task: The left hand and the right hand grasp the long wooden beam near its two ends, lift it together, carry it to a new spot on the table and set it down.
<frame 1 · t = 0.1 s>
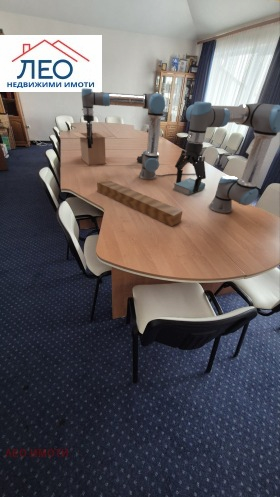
left hand: (90, 146, 173), 28 cm above the table, tool pointing down, fingers open, 13 cm apart
right hand: (186, 187, 114), 28 cm above the table, tool pointing down, fingers open, 13 cm apart
laser sight: (146, 163, 243), on the table
long wooden beam: (135, 204, 157), on the table
box: (93, 161, 237), on the table
book: (188, 189, 187), on the table
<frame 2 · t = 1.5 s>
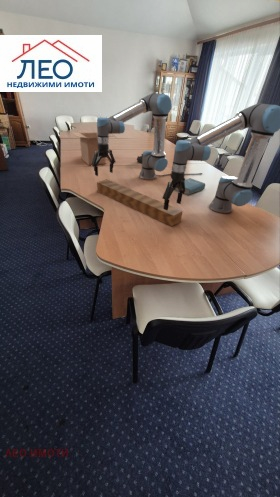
left hand: (104, 173, 166), 13 cm above the table, tool pointing down, fingers open, 13 cm apart
right hand: (172, 206, 135), 10 cm above the table, tool pointing down, fingers open, 13 cm apart
nothing on the table moved.
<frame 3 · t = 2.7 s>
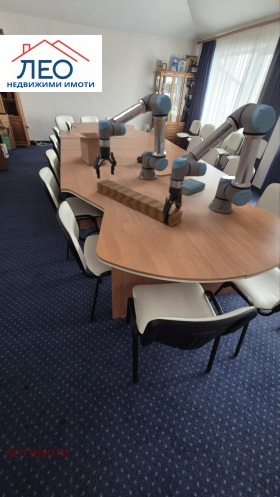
left hand: (105, 176, 166), 12 cm above the table, tool pointing down, fingers open, 13 cm apart
right hand: (170, 220, 141), 1 cm above the table, tool pointing down, fingers closed on long wooden beam, 10 cm apart
long wooden beam: (135, 204, 157), on the table, touching right hand
everything else where it was.
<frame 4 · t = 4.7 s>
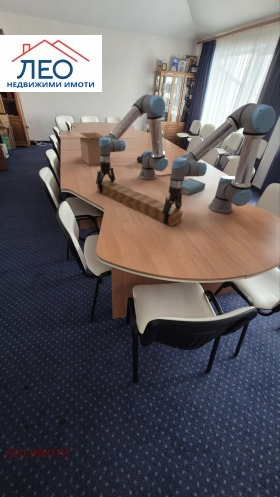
left hand: (106, 190, 173), 1 cm above the table, tool pointing down, fingers closed on long wooden beam, 10 cm apart
right hand: (170, 220, 141), 1 cm above the table, tool pointing down, fingers closed on long wooden beam, 10 cm apart
long wooden beam: (135, 204, 157), on the table, touching left hand, right hand
everything else where it was.
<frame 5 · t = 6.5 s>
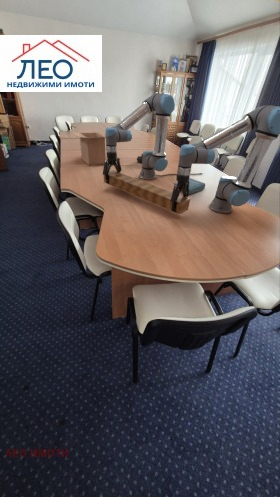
left hand: (112, 181, 174), 6 cm above the table, tool pointing down, fingers closed on long wooden beam, 10 cm apart
right hand: (178, 208, 141), 6 cm above the table, tool pointing down, fingers closed on long wooden beam, 10 cm apart
long wooden beam: (141, 194, 158), point 6 cm above the table, touching left hand, right hand
everything else where it was.
when the left hand's fingers open (1 cm above the table, at t = 8.4 s): long wooden beam stays where it is, on the table.
when the right hand's fingers open (1 cm above the table, at t = 8.4 s): long wooden beam stays where it is, on the table.
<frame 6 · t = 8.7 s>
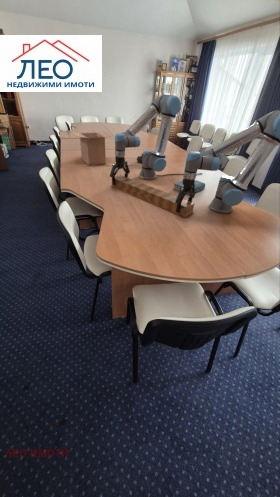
left hand: (120, 183, 182), 3 cm above the table, tool pointing down, fingers open, 13 cm apart
right hand: (183, 209, 150), 3 cm above the table, tool pointing down, fingers open, 13 cm apart
long wooden beam: (148, 198, 167), on the table
everything else where it was.
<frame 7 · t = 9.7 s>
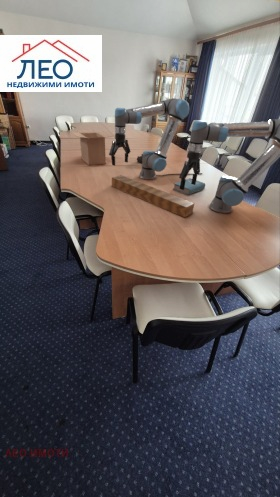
left hand: (120, 163, 172), 19 cm above the table, tool pointing down, fingers open, 13 cm apart
right hand: (187, 186, 140), 19 cm above the table, tool pointing down, fingers open, 13 cm apart
nothing on the table moved.
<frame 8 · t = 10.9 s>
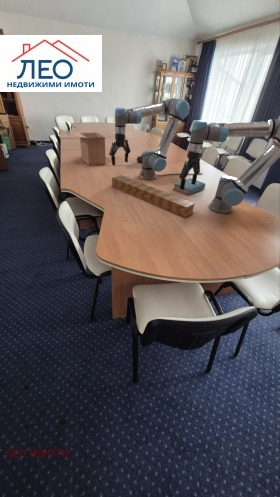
left hand: (120, 163, 172), 19 cm above the table, tool pointing down, fingers open, 13 cm apart
right hand: (187, 186, 140), 19 cm above the table, tool pointing down, fingers open, 13 cm apart
nothing on the table moved.
at the end: long wooden beam inside the target area (0.1 cm from its centre), on the table; long wooden beam tilted 0°; long wooden beam never tilted more than 2° during the clip; both hands held the long wooden beam at the same time; the left hand is holding nothing; the right hand is holding nothing; long wooden beam at rest at the end (0.0 cm/s) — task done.
